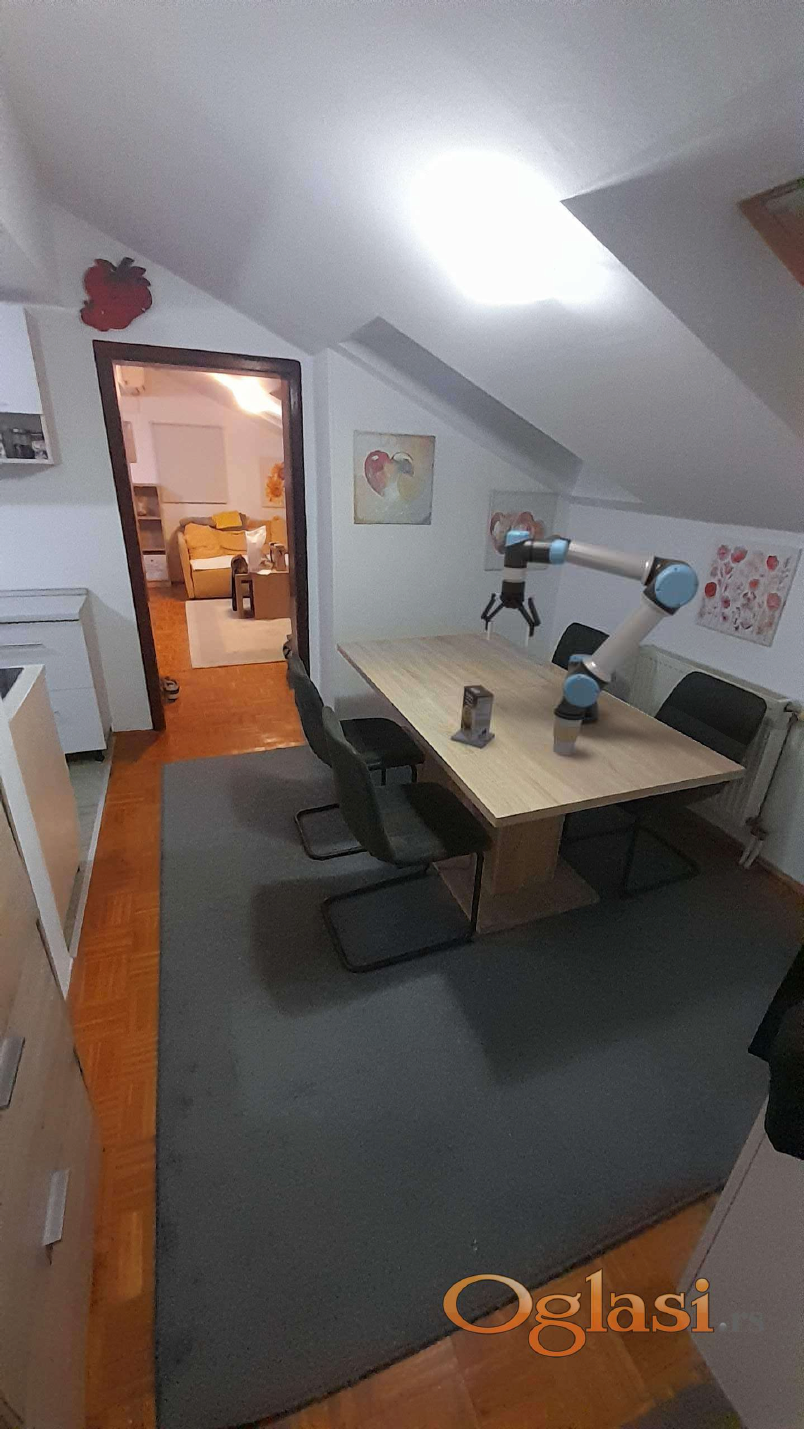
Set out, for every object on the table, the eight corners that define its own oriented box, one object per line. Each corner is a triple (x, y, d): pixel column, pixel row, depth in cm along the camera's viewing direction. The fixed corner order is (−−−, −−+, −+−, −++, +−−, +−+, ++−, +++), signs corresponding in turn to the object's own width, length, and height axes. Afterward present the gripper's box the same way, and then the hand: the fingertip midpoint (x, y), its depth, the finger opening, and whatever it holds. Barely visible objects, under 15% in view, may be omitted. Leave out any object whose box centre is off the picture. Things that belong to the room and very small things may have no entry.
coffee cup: (555, 742, 194) (562, 700, 188) (582, 751, 189) (590, 708, 183) (542, 751, 187) (549, 708, 182) (570, 761, 182) (578, 717, 176)
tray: (494, 736, 196) (494, 733, 196) (481, 748, 187) (481, 745, 187) (464, 728, 201) (465, 725, 201) (450, 739, 192) (450, 736, 192)
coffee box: (459, 730, 197) (463, 685, 190) (476, 728, 199) (481, 684, 192) (471, 742, 189) (476, 695, 182) (489, 740, 191) (494, 694, 185)
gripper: (554, 582, 190) (546, 645, 199) (481, 574, 200) (477, 635, 209) (548, 585, 184) (541, 650, 192) (474, 578, 194) (469, 640, 203)
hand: (508, 642), depth 201 cm, fingers open, 13 cm apart
